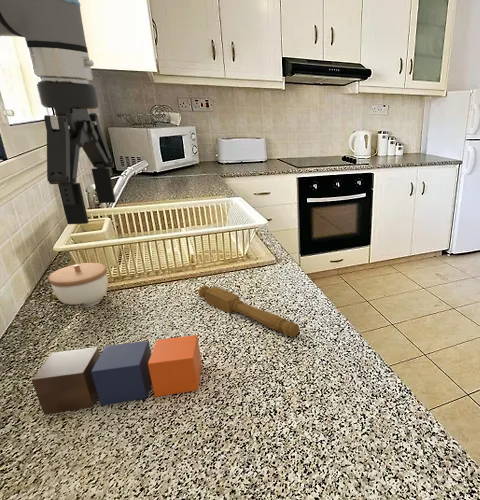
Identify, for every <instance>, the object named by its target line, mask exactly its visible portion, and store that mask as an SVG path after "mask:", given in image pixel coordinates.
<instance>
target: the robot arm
mask: <svg viewBox="0 0 480 500" xmlns="http://www.w3.org/2000/svg"><path fill="white" fill-rule="evenodd" d="M83 24H84V23H83V18H82V11H81V2H80V1H79V0H0V37H19V38H20V37H21V38H24V40H25V43H26V48H27V52H28V56H29V61H30V65H31V69H32V74H33V76H34V77H35V78H39V81H37V83H36V84H35V85H36V88H37V93H38V98H39V101H40V104H41V106H42V107H44V108H48V109H53V110H54V114H53V115H52V114H51V115H50V114H45V115H44V116H43V119H44V123H45V124H44V125H45V130H46V178H47V182H48V183H49V185H57V186H58V187H57V188H58V191H59V195H60V199H61V203H62V206H63V210H64V215H65V219H66V223H67V225H87V224H89V217H88V212H87V209H86V204H85V200H84V195H83V190H82V187H81V186H82V185H81V183H80V182H77V178H78V169H79V160H80V159H79V158H80V151H81V150H80V149H82V150H83V151H84V154H85V155H86V156H87V158H88V160H89V161H90V163H91V165H92V166H93V168H91V173H92V174H91V175H92V178H93V179H92V180H93V183H94V187H95V191H96V196H97V197H96V198H97V203H98V204H115V203H116V196H115V191H114V186H113V181H112V176H111V170H110V169H113V168H115V163H114V161H113V158H112V155H111V152H110V149H109V148H108V144H107V141H106V139H105V136H104V134H103V132H102V129H101V126H100V121H99V118H98V117H99V116H98V114H97V113H96V112H89V111H88V110H94V109H95V110H96V109H98V108H99V101H98V96H97V90H96V87H95V86H94V84H90V81H93V80H94V76H93V72H92V67H93V66H94V65H95V63H94V61H93V60H92V59H90V56H89V53H88V52H89V50H88V47H87V42H86V36H85V31H84V30H85V29H84V26H83Z"/></svg>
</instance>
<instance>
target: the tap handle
mask: <svg viewBox="0 0 480 500" xmlns="http://www.w3.org/2000/svg"><path fill="white" fill-rule="evenodd" d="M197 290H198V291H197V294H198V296H199V297H201V298H204V300H205V302H206V304H208V305H209V306H212V307H214V308H217V309H219V310H221V311H223V312H226V313H229V314H230V313H234V312H235V313H238V314H239V313H240V314H242V315H244V316H246V317H248V318H250V319H252V320H255V321H256V322H258V323H260V324H261V325H264V326H266V327H268V328H270V329H272V330H274V331H277V332H278V333H283V334H284V335H285V336H289V337H290V338H295V337H296V336H297V335H298V334H299V332H300V325H299V324H298V323H296V322H294V321H290V320H287V319H286V318H283V317H282V316H279V315H277V314H274V313H271V312H270V311H265V310H263V309H260V308H258V307H256V306H255V307H254V306H252V305H249V304H247V303H244V301H243V300H241V299H240V297H239V295H238V294H236V293H234V292H231V291H228V290H226V289H223V288H221V287H218V286H213V287H209V286H207V285H202V286H200V287H199V288H198V289H197Z"/></svg>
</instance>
